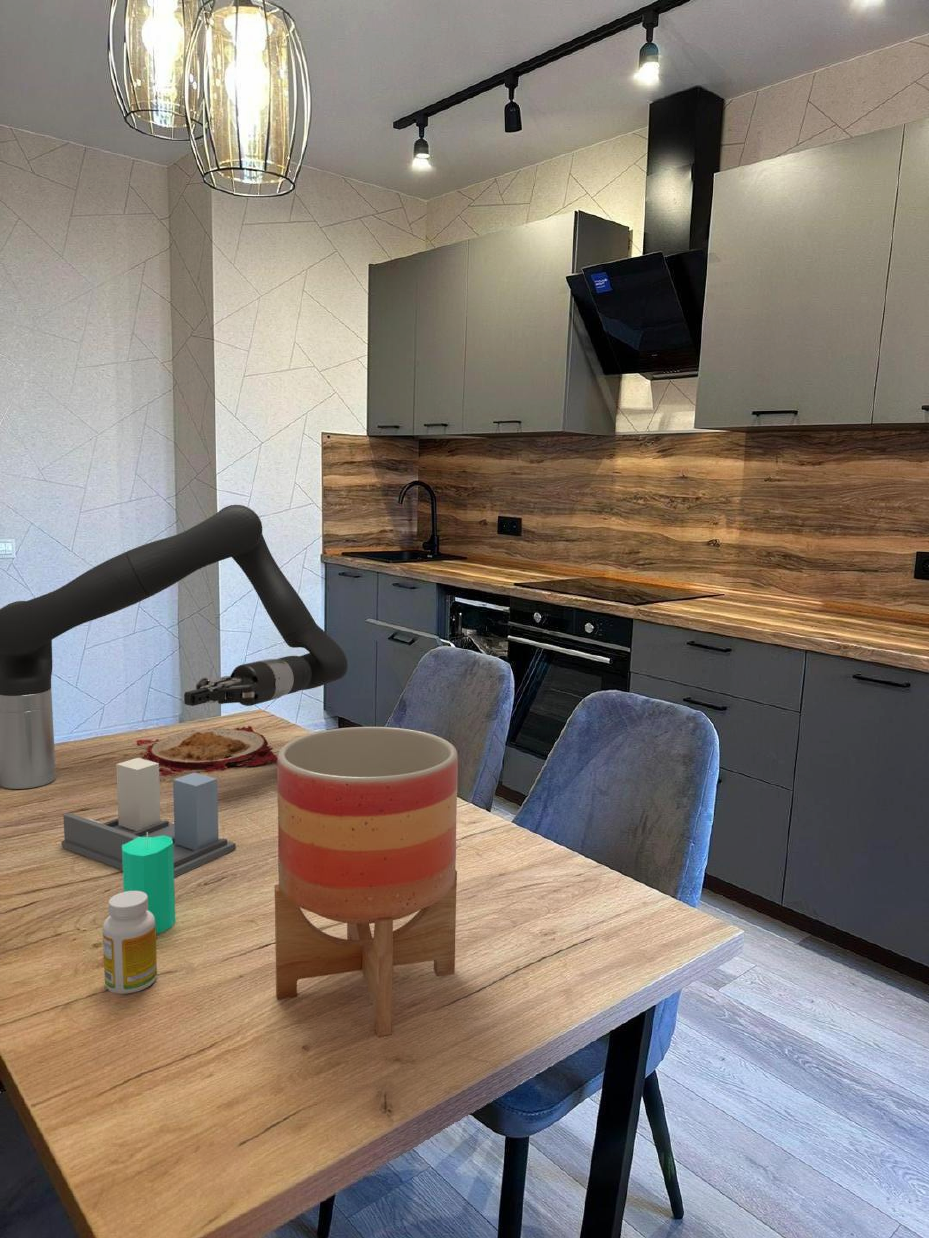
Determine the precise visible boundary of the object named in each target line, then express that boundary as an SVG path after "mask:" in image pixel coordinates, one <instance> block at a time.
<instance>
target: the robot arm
mask: <svg viewBox="0 0 929 1238" xmlns="http://www.w3.org/2000/svg"><path fill="white" fill-rule="evenodd" d="M258 515H259V514H257V513H256V512H255V511H254V510H253V509H251V508H250V507H247V506H245V505H242V504H230V505H226V506H225V507H223V508H222V509H220V510H218V512H216V513H214V514H213V515H211V516H210V517H207V518H206V519H204V520H203V521H201V522H199V523H198V524H196V525H194V526H193V527H191V528H189V529H186V530H185V531H182V532H179V533H177V534H174V535H172V536H168V537H165V538H162V539H158V540H155V541H152V542H148V543H145V544H143V545H140V546H137V547H135V548H132V549H130V550H127V551H124V552H122V553H120V554H118V555H115V556H114V557H112V558H109V559H107V560H105V561H103V562H101V563H100V564H98V565H95V566H94V567H92V568H90V569H88V570H87V571H85V572H83V573H82V574H80V575H78V576H77V577H76V578H74V579H72V580H70V581H69V582H68V583H66V584H65V585H61V587H59V588H56V589H54V590H52V591H50V592H47V593H46V594H42V595H40V596H38V597H35V598H32V599H29V600H17V601H14V602H10V603H9V604H7V605H4V606H2V607H1V608H0V787H2V788H5V789H10V790H13V789H14V790H20V789H21V790H23V789H24V790H25V789H32V788H37V787H42V786H45V785H48V784H51V783H53V781H55V780H56V776H57V775H56V757H55V755H56V754H55V753H56V752H55V733H54V713H53V695H52V692H53V691H52V674H53V640H54V639H56V638H57V637H59V636H61V635H63V634H65V633H67V632H68V631H70V630H72V629H74V628H76V627H79V626H80V625H83V624H86V623H89V622H91V621H92V622H93V621H95V620H97V619H101V618H103V617H105V616H108V615H111V614H114V613H117V612H119V611H121V610H124V609H126V608H128V607H131V606H133V605H136V604H137V603H140V602H141V601H145V600H146V599H149V598H150V597H154V596H155V595H157V594H159V593H160V592H162V591H165V590H166V589H168V588H170V587H172V586H173V585H175V584H176V583H178V582H180V581H182V580H183V579H184V578H185V579H186V577H188V576H190V575H191V574H193V573H194V572H197V571H198V570H200V569H203V568H205V567H207V566H211V565H212V564H215V563H218V562H221V561H224V560H227V559H229V558H232V559H233V560H234V562H235V563H236V564H237V565H238V567H239V568H240V569H241V571H243V573H244V574H245V576H246V578H247V579H248V581H249V582H250V584H251V585H252V587H253V589H254V591H255V593H256V595H257V596H258V598H259V600H260V602H261V603H262V605H263V607H264V609H265V611H266V614H267V615H268V616H269V618H270V620H271V621H272V624H273V625H274V627H275V628H276V630H277V631H278V633H279V634H280V636H281V637H282V639H283V641H284V642H285V643H286V645H287V646H288V647H289V648H296V649H297V648H302V649H305V650H306V651H307V652H308V653H306V654H302V655H300V656H299V655H287V656H283V657H278V658H267V659H263V660H258V661H252V662H247V663H244V664H240V665H237V666H236V667H235V668H234V669H233V670H232V672H231V674H230V675H224V676H221V677H220V678H219V679H218V678H217V679H214V680H210V679H209V678H207V677H203V678H201V679H200V680H199V681H198V682H197V684H196V685H195V689H192V690H189V691H185V692H184V695H183V701H184V705H185V706H191V707H194V706H198V705H203V704H206V703H207V704H215V703H217V704H218V705H224V704H236V703H239V704H240V705H242V706H245V707H251V706H254V705H258V704H262V703H266V702H269V701H274V700H277V699H279V698H282V697H284V696H287V695H291V694H294V693H297V692H299V691H306V690H313V689H316V688H319V687H322V686H324V685H325V686H326V685H327V684H328V685H329V684H331V683H333V682H337V681H338V680H341V679H342V678H344V677H345V675H346V674H347V672H348V667H349V664H348V659H347V656H346V654H345V652H344V650H343V648H342V647H340V645H339V643H336V641H335V640H334V639H333V638H332V637H331V636H329V634H328V633H327V632H325V631H324V630H323V628H321V627H320V626H319V624H317V623H316V621H315V620H314V618H313V616H312V614H311V612H310V611H309V609H308V607H307V606H306V604H305V603H304V601H303V600H302V598H301V596H300V595H299V594H298V592H297V591H296V590H295V588H294V587H293V586H292V584H291V582H290V581H289V580H288V578H287V577H286V575H284V573H283V571H282V570H281V568H280V566H278V564H277V562H276V560H275V558H274V557H273V555H272V553H271V551H270V549H269V546H268V545H267V542H266V540H265V538H264V535H263V523H262V521H261V518H260V516H258Z"/></svg>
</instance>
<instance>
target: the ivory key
mask: <svg viewBox="0 0 929 1238" xmlns="http://www.w3.org/2000/svg"><path fill="white" fill-rule="evenodd" d="M115 766H116V793H117V815H118V816H117V818H118V822H119V826H122V827H125V828H128V829H131V830H134V831H138V830H141V829H143V828H146V827H149V826H151V825H154V824H156V823H159V822H161V820H162V818H161V793H160V792H161V790H160V789H161V788H160V785H161V784H160V770H159V769H160V763H156V762H153V761H152V760H149V759H142V758H140V757H136V758H133V759H129V760H125V761H122V762H119V763H116V765H115Z"/></svg>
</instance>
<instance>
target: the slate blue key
mask: <svg viewBox="0 0 929 1238" xmlns="http://www.w3.org/2000/svg"><path fill="white" fill-rule="evenodd" d="M172 788H173V790H172V791H173V792H172V793H173V794H172V795H173V824H174V835H175V844H177V845H180V846H183V847H186V848H189V849H192V850H197V849H200V848H202V847H204V846H207V845H209V844H211V843H214V842H216V841H218V840H219V806H218V805H219V802H218V801H219V800H218V799H219V798H218V796H219V794H218V793H219V792H218V788H219V787H218V778H216V777H212V776H209V775H205V774H201V773H197V772H191V773H188V774H186V775H183V776H179V777H177V778H174V779H172Z"/></svg>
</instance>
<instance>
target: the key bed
mask: <svg viewBox="0 0 929 1238" xmlns="http://www.w3.org/2000/svg"><path fill="white" fill-rule="evenodd" d="M147 832H148V837H157V836H163V835H164V836H167V837H171V838H172V841H173V860H174V878H176V877H178V876H181V875H183V874H185V873H187V872H189V871H192V870H194V869H196V868H198V867H201V866H203V865H205V864H208V863H210V862H213V861H215V860H216V859H218V858H220V857H223V856H224V855H227V854H230V853H232V852H234V851H235V850H236V843H235V842H233V841H229V840H228V839H227V838H219V837H218V838H219V840H218V841H216V842H214V843H211V844H209V845H207V846H204V847H202V848H200V849H197V850H192V849H189V848H186V847H183V846H180V845H177V844H175V835H174V823H172V822H169V820H164V819H163V820H162V819H161V822H159V823H156V824H154V825H151V826H149V827H146V828H143V829H141V830H138V831H134V830H131V829H128V828H125V827H122V826H119V822H118V817H117V818H114V819H112V820H109V821H106V822H103V823H101V822H100V821H96V820H94V819H93V818H92V819H91V818H88V817H87V818H85V817H82V816H80V815H76V814H74V813H71V812H69V813H65V814H63V833H64V836H63V837H64V840H62V841H61V849H65V850H67V851H70V852H73V853H74V854H77V855H80V856H83V857H86V858H88V859H91V860H94V861H97V862H100V863H102V864H105V865H108V866H110V867H113V868H116V869H118V870H121V871H123V861H122V845H124V844H126V843H128V842H130V841H132V840H134V839H136V838H137V837H147Z"/></svg>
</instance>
